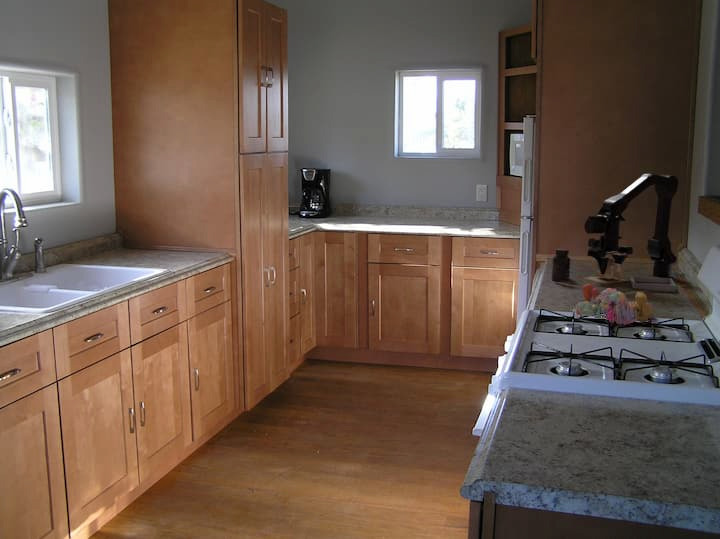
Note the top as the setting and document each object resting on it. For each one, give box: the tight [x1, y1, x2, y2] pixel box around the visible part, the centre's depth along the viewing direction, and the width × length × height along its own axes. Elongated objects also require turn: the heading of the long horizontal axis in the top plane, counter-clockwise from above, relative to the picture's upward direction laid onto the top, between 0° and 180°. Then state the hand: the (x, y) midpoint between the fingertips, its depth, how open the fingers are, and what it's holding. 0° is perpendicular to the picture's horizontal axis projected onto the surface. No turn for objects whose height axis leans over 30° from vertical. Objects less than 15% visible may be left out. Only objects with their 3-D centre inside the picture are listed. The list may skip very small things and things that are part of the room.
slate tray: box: [630, 276, 677, 293], centre depth 286 cm, size 14×14×2 cm
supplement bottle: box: [551, 248, 572, 283], centre depth 297 cm, size 7×7×12 cm
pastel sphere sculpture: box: [571, 283, 657, 326], centre depth 242 cm, size 25×24×9 cm
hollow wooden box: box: [595, 262, 623, 280], centre depth 297 cm, size 6×8×5 cm
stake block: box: [582, 257, 629, 284], centre depth 297 cm, size 12×12×9 cm
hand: (608, 273), depth 298 cm, fingers closed on hollow wooden box, 6 cm apart
